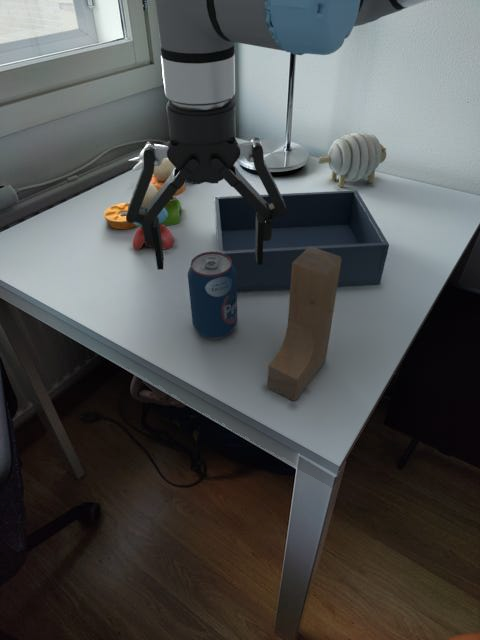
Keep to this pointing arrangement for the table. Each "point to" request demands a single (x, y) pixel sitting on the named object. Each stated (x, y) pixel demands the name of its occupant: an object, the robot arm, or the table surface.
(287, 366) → the wooden block
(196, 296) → the soda can
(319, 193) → the bin
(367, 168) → the toy sheep
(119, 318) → the table surface
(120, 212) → the stacking toy
